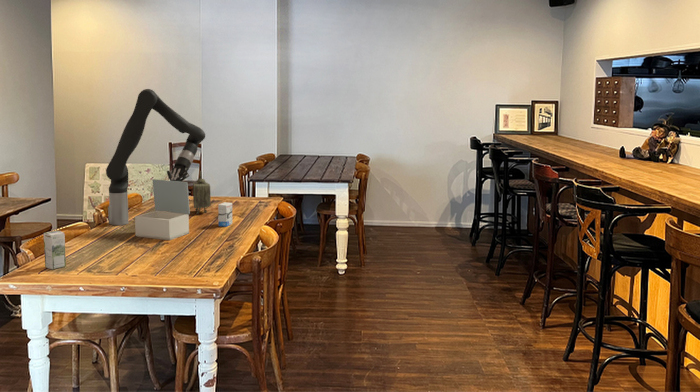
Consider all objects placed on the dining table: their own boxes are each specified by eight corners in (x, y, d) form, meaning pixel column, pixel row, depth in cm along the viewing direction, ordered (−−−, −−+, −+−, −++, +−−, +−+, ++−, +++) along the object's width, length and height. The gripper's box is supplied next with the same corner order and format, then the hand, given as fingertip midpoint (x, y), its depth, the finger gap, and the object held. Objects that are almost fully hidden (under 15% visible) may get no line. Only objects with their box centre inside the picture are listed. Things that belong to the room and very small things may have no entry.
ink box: (226, 227, 327) (226, 205, 325) (218, 226, 328) (217, 204, 326) (232, 223, 335) (232, 202, 333) (224, 223, 336) (224, 202, 334)
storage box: (135, 236, 302) (134, 216, 301) (156, 229, 317) (155, 210, 315) (169, 240, 296) (169, 220, 294) (189, 233, 310) (188, 214, 309)
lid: (152, 179, 311) (153, 179, 312) (155, 210, 315) (155, 210, 316) (186, 182, 304) (187, 182, 305) (189, 214, 309) (189, 213, 309)
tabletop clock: (193, 210, 368) (192, 169, 364) (208, 209, 371) (208, 169, 367) (194, 215, 355) (194, 172, 351) (210, 214, 357) (210, 172, 353)
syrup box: (58, 264, 252) (56, 230, 250) (66, 266, 249) (64, 232, 246) (45, 267, 248) (42, 232, 245) (53, 270, 244) (50, 234, 242)
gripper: (170, 155, 318) (156, 181, 309) (192, 156, 314) (179, 183, 305) (176, 164, 324) (163, 190, 315) (198, 165, 320) (185, 192, 311)
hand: (171, 187), depth 310 cm, fingers closed
